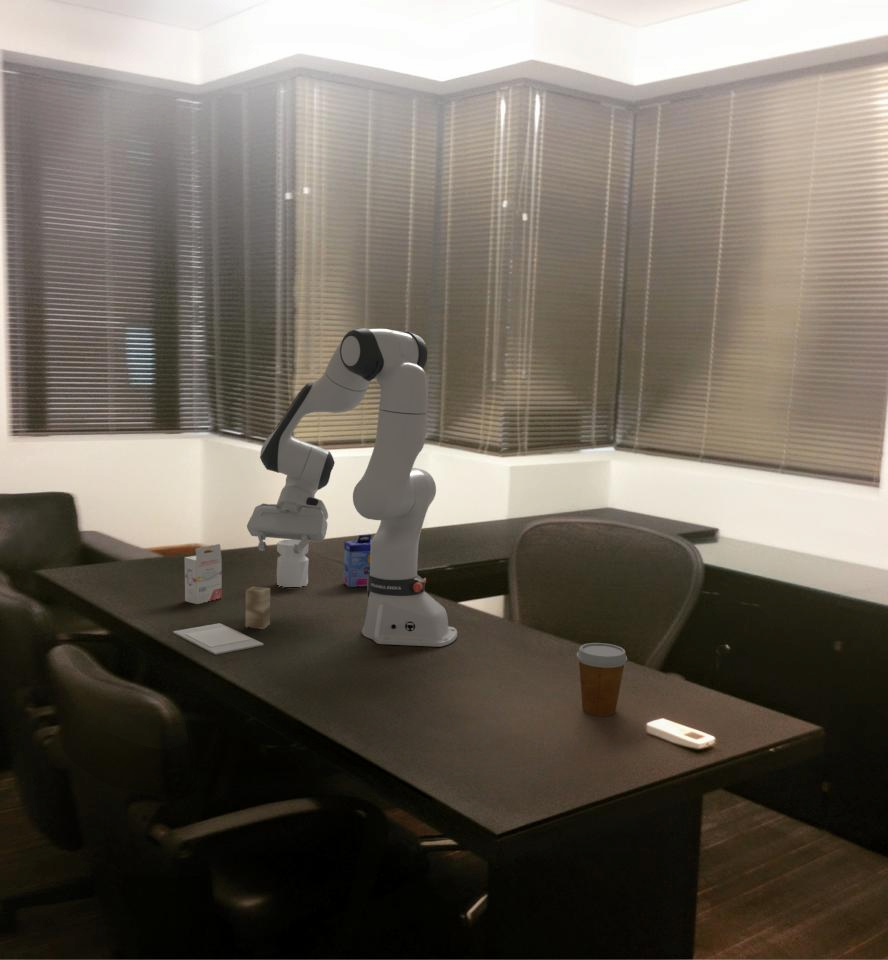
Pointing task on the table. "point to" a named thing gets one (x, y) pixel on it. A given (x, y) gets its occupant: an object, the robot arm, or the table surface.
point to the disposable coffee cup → (600, 677)
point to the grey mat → (218, 638)
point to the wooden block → (257, 607)
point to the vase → (291, 564)
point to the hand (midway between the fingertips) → (278, 550)
